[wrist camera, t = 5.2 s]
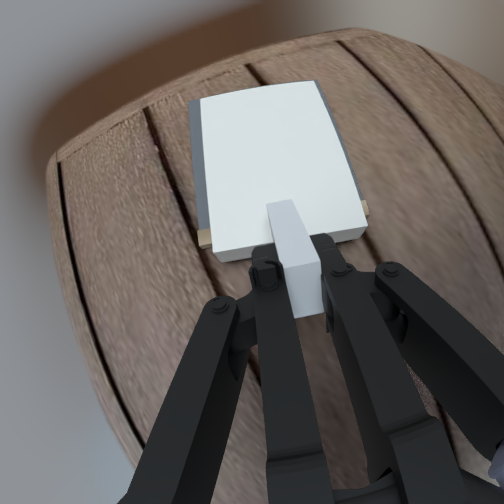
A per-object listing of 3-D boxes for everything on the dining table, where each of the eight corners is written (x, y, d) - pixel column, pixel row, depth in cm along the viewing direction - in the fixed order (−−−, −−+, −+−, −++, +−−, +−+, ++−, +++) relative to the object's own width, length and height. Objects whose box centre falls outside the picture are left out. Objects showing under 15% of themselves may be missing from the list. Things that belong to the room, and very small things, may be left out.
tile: (367, 225, 18) (313, 80, 22) (213, 252, 18) (200, 99, 22) (358, 238, 20) (312, 100, 24) (221, 262, 21) (206, 117, 25)
